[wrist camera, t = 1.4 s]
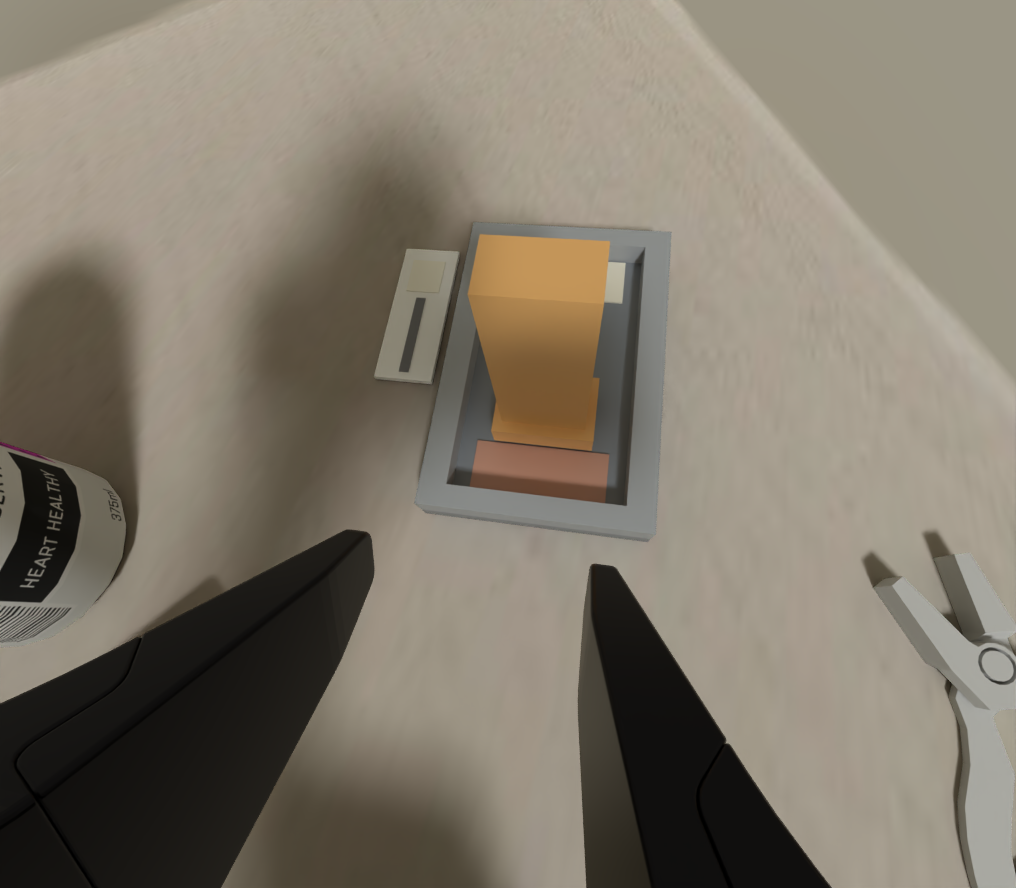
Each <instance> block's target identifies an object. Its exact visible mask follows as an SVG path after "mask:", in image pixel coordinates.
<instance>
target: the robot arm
mask: <svg viewBox="0 0 1016 888" xmlns="http://www.w3.org/2000/svg"><path fill="white" fill-rule="evenodd" d="M373 578H374V558H373V548H372V539H371V536H370V534H369V533H367V532H364V531H357V530H345V531H342V532H340V533H338V534H336V535H335V536H333V537H331V538H329V539H327V540H325V541H323V542H321V543H319V544H317V545H315V546H313V547H311V548H309V549H307V550H305V551H304V552H302V553H300V554H298V555H296V556H294V557H292V558H290V559H288V560H286V561H284V562H282V563H280V564H278V565H276V566H274V567H273V568H271V569H269V570H267V571H265V572H263V573H261V574H259V575H257V576H255V577H253V578H251V579H249V580H247V581H245V582H244V583H242V584H240V585H238V586H236V587H234V588H232V589H230V590H228V591H226V592H224V593H222V594H220V595H218V596H216V597H214V598H212V599H211V600H209V601H207V602H205V603H203V604H201V605H199V606H197V607H195V608H193V609H191V610H189V611H187V612H185V613H183V614H181V615H179V616H178V617H176V618H174V619H172V620H170V621H168V622H166V623H164V624H162V625H160V626H158V627H156V628H154V629H152V630H150V631H148V632H147V633H145V634H144V635H143V636H142V638H141V637H137V638H135V639H133V640H131V641H129V642H127V643H125V644H123V645H121V646H119V647H117V648H115V649H113V650H111V651H110V652H108V653H106V654H103V655H101V656H99V657H97V658H95V659H93V660H91V661H89V662H87V663H85V664H83V665H81V666H79V667H77V668H75V669H73V670H71V671H69V672H67V673H65V674H63V675H61V676H59V677H57V678H55V679H52V680H50V681H48V682H46V683H44V684H42V685H40V686H37V687H35V688H33V689H31V690H29V691H27V692H24V693H22V694H20V695H18V696H16V697H14V698H11V699H9V700H7V701H5V702H3V703H0V888H221V887H222V885H223V883H224V881H225V879H226V877H227V875H228V873H229V871H230V870H231V868H232V866H233V864H234V862H235V860H236V858H237V856H238V854H239V853H240V851H241V849H242V847H243V845H244V843H245V841H246V839H247V837H248V836H249V834H250V832H251V830H252V828H253V826H254V824H255V822H256V820H257V819H258V817H259V815H260V813H261V811H262V809H263V807H264V805H265V803H266V802H267V800H268V798H269V796H270V794H271V792H272V790H273V788H274V786H275V785H276V783H277V781H278V779H279V777H280V775H281V773H282V771H283V769H284V768H285V766H286V764H287V762H288V760H289V758H290V756H291V754H292V752H293V751H294V749H295V747H296V745H297V743H298V741H299V739H300V737H301V735H302V734H303V732H304V730H305V728H306V726H307V724H308V722H309V720H310V718H311V717H312V715H313V713H314V711H315V709H316V707H317V705H318V703H319V701H320V699H321V698H322V696H323V694H324V692H325V690H326V688H327V686H328V684H329V682H330V681H331V679H332V677H333V675H334V673H335V671H336V669H337V667H338V665H339V663H340V661H341V659H342V657H343V654H344V652H345V649H346V647H347V645H348V642H349V640H350V637H351V635H352V632H353V630H354V627H355V625H356V622H357V620H358V617H359V615H360V612H361V609H362V607H363V604H364V602H365V599H366V597H367V594H368V592H369V589H370V587H371V584H372V582H373ZM578 725H579V746H580V766H581V787H582V807H583V828H584V848H585V868H586V888H832V887H831V886H830V885H829V884H828V882H827V881H826V880H825V878H824V877H823V876H822V874H821V873H820V872H819V871H818V869H817V868H816V867H815V865H814V864H813V863H812V861H811V860H810V859H809V857H808V856H807V855H806V853H805V852H804V851H803V849H802V848H801V847H800V845H799V844H798V843H797V841H796V840H795V839H794V837H793V836H792V835H791V833H790V832H789V830H788V829H787V828H786V826H785V825H784V824H783V822H782V821H781V820H780V818H779V817H778V816H777V814H776V813H775V811H774V810H773V808H772V807H771V806H770V804H769V803H768V801H767V800H766V798H765V797H764V795H763V794H762V792H761V791H760V789H759V788H758V786H757V785H756V783H755V782H754V780H753V779H752V777H751V776H750V775H749V773H748V772H747V770H746V769H745V767H744V765H743V764H742V762H741V761H740V759H739V758H738V756H737V754H736V753H735V751H734V750H733V748H732V747H731V745H730V744H727V743H726V738H725V736H724V735H723V733H722V731H721V730H720V728H719V727H718V725H717V724H716V722H715V721H714V719H713V718H712V716H711V714H710V713H709V711H708V710H707V708H706V707H705V705H704V704H703V702H702V700H701V699H700V697H699V696H698V694H697V693H696V691H695V690H694V688H693V686H692V685H691V683H690V682H689V680H688V679H687V677H686V676H685V674H684V672H683V671H682V669H681V668H680V666H679V665H678V663H677V662H676V660H675V658H674V657H673V655H672V654H671V652H670V651H669V649H668V648H667V646H666V644H665V643H664V641H663V640H662V638H661V637H660V635H659V634H658V632H657V631H656V629H655V627H654V626H653V624H652V623H651V621H650V620H649V618H648V617H647V615H646V613H645V612H644V610H643V609H642V607H641V606H640V604H639V603H638V601H637V599H636V598H635V596H634V595H633V593H632V592H631V590H630V589H629V587H628V585H627V584H626V582H625V581H624V579H623V578H622V576H621V575H620V573H619V571H618V570H617V569H616V568H615V567H613V566H608V565H601V564H592V565H591V566H590V569H589V576H588V583H587V590H586V597H585V604H584V615H583V628H582V642H581V656H580V670H579V684H578Z"/></svg>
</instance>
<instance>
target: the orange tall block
mask: <svg viewBox="0 0 1016 888" xmlns="http://www.w3.org/2000/svg"><path fill="white" fill-rule="evenodd" d="M609 248H610V241H598V240H579V239H560V238H541V237H522V236H504V235H485V234H480V236H479V241H478V246H477V251H476V255H475V260H474V265H473V270H472V275H471V280H470V285H469V290H468V298H469V302H470V305H471V309H472V313H473V316H474V320H475V324H476V327H477V331H478V335H479V338H480V342H481V346H482V350H483V353H484V357H485V361H486V364H487V368H488V372H489V375H490V379H491V383H492V386H493V390H494V394H495V398H496V405H495V411H494V417H493V423H492V429H491V432H492V435H493V438H494V440H497V441H506V442H515V443H524V444H533V445H543V446H552V447H561V448H570V449H579V450H588V451H592V446H593V441H594V430H595V420H596V410H597V399H598V389H599V379H600V378H593V373H594V367H595V360H596V353H597V347H598V340H599V334H600V327H601V320H602V314H603V307H604V298H605V288H606V278H607V268H608V258H609Z"/></svg>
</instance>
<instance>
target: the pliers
mask: <svg viewBox="0 0 1016 888" xmlns="http://www.w3.org/2000/svg"><path fill="white" fill-rule="evenodd" d="M934 561H935V563H936V566H937V568H938V571H939V573H940V576H941V579H942V581H943V584H944V586H945V589H946V592H947V594H948V597H949V599H950V602H951V604H952V607H953V610H954V612H955V615H956V617H957V620H958V623H959V625H960V628H961V630H962V634H961V633H960V632H959V631H958V630H957V629H956V628H955V627H954V626H953V625H952V624H951V623H950V622H949V621H948V620H947V619H946V618H945V617H944V616H943V615H942V614H941V613H940V612H939V611H938V610H937V609H936V608H935V607H934V606H933V605H932V604H931V603H930V602H929V601H928V600H927V599H925V598H924V597H923V596H922V595H921V594H920V593H919V592H918V591H917V590H916V589H915V588H914V587H913V586H912V585H911V584H910V583H909V582H908V581H907V580H906V579H905V578H904V577H903V576H901V577H893V578H885V579H883V580H881V581H880V582H879V583H878V584H877V585H876V586H874V587H873V589H874V590H875V591H876V593H877V594H878V596H879V597H880V599H881V600H882V602H883V603H884V604H885V606H886V607H887V609H888V610H889V612H890V613H891V614H892V616H893V617H894V619H895V620H896V622H897V623H898V625H899V626H900V627H901V629H902V630H903V632H904V633H905V635H906V636H907V638H908V639H909V640H910V642H911V643H912V645H913V646H914V648H915V649H916V651H917V652H918V653H919V655H920V656H921V658H922V659H923V661H924V662H925V663H926V664H928V665H931V666H933V667H935V668H937V669H939V670H940V672H941V673H942V674H943V675H944V676H945V677H946V678H947V679H948V680H949V681H950V682H951V683H952V686H951V689H950V693H949V700H950V702H951V705H952V707H953V710H954V713H955V715H956V718H957V721H958V723H959V726H960V734H961V746H962V758H963V766H962V773H961V780H960V787H959V794H958V801H957V807H958V820H959V833H960V841H961V846H962V851H963V856H964V861H965V866H966V871H967V875H968V878H969V881H970V885H971V888H1016V872H1015V869H1014V864H1013V859H1012V853H1011V836H1012V809H1013V795H1014V781H1015V773H1014V771H1013V768H1012V765H1011V763H1010V760H1009V758H1008V755H1007V752H1006V750H1005V747H1004V745H1003V742H1002V740H1001V737H1000V734H999V732H998V729H997V727H996V724H995V721H994V719H993V717H994V716H995V715H996V714H997V713H998V712H999V711H1000V710H1008V709H1016V656H1015V655H1014V653H1013V650H1012V648H1011V646H1010V643H1009V641H1008V637H1010V636H1011V635H1013V634H1014V633H1015V632H1016V623H1015V622H1014V620H1013V619H1012V617H1011V615H1010V614H1009V612H1008V611H1007V609H1006V608H1005V606H1004V605H1003V603H1002V601H1001V600H1000V598H999V597H998V595H997V594H996V592H995V591H994V589H993V587H992V586H991V584H990V583H989V581H988V580H987V578H986V577H985V575H984V573H983V572H982V570H981V569H980V567H979V566H978V564H977V563H976V561H975V559H974V558H973V556H972V555H971V553H963V554H954V555H948V556H942V557H936V558H934Z"/></svg>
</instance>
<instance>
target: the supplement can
mask: <svg viewBox="0 0 1016 888" xmlns="http://www.w3.org/2000/svg"><path fill="white" fill-rule="evenodd" d="M125 536H126V522H125V517H124V512H123V508H122V503H121V499H120V498H119V496H118V495H117V494H116V492H115V491H114V490H113V488H112V487H111V486H110V484H109V483H108V482H107V480H106V479H104V478H102V477H100V476H97V475H95V474H93V473H91V472H89V471H87V470H85V469H82V468H79V467H76V466H73V465H70V464H67V463H64V462H61V461H58V460H55V459H51V458H48V457H45V456H42V455H39V454H36V453H33V452H30V451H27V450H24V449H21V448H18V447H14V446H11V445H8V444H5V443H2V442H0V647H19V646H25V645H28V644H31V643H34V642H37V641H41V640H44V639H47V638H50V637H53V636H55V635H56V634H58V633H59V632H61V631H62V630H63V629H65V628H66V627H68V626H69V625H71V624H72V623H74V622H75V621H76V620H78V619H79V618H81V617H82V616H83V615H84V614H85V613H86V612H87V611H88V609H89V608H90V607H91V606H92V605H93V604H94V602H95V601H96V600H97V599H98V598H99V596H100V595H101V594H102V593H103V592H104V591H105V589H106V588H107V587H108V585H109V584H110V583H111V580H112V578H113V576H114V574H115V572H116V570H117V568H118V566H119V563H120V561H121V559H122V556H123V550H124V543H125Z"/></svg>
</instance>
